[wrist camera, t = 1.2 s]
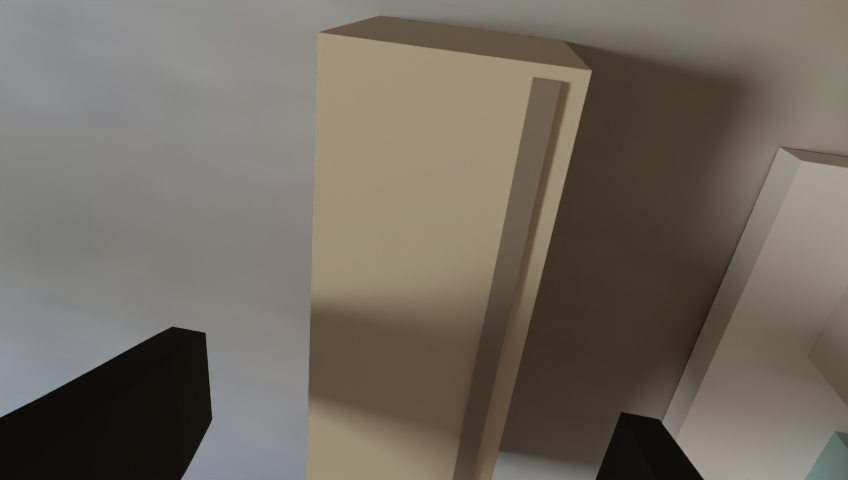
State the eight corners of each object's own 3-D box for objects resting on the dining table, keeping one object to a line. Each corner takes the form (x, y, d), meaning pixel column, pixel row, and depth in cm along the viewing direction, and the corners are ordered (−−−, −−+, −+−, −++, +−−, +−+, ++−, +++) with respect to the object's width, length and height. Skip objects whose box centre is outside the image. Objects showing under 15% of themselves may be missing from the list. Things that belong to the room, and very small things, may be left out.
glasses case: (475, 441, 17) (464, 590, 13) (351, 417, 17) (302, 555, 13) (562, 39, 12) (593, 71, 8) (381, 15, 12) (314, 33, 8)
